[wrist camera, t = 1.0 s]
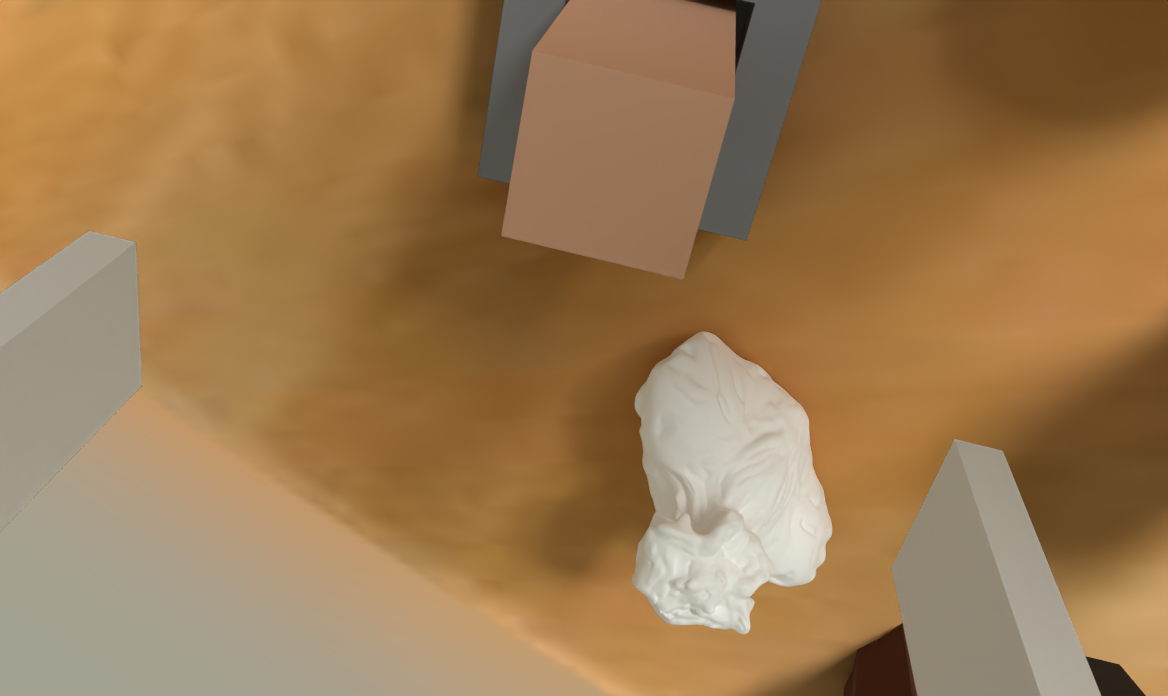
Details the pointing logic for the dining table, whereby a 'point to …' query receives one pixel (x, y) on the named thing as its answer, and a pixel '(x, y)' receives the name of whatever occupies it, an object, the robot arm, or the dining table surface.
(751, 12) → the holder
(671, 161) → the block
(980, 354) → the dining table surface
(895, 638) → the muffin
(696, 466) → the bust
